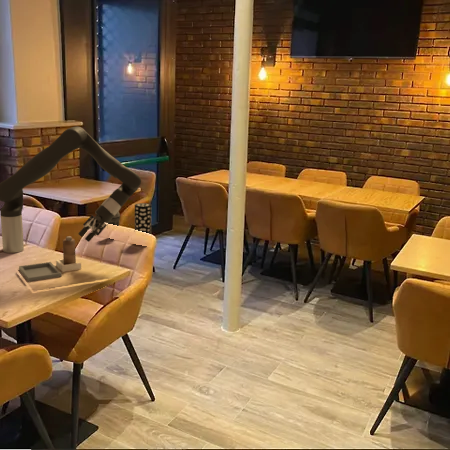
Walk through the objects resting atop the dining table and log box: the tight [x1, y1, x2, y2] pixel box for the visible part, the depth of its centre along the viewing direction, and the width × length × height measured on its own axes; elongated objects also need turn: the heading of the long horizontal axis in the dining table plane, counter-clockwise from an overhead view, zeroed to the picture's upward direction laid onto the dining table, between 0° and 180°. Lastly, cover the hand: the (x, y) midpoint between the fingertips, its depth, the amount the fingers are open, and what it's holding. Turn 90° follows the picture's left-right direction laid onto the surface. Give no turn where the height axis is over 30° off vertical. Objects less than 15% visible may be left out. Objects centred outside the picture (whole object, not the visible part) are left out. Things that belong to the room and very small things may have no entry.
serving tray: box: [18, 261, 63, 283], centre depth 213 cm, size 16×13×2 cm
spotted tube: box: [134, 202, 152, 235], centre depth 262 cm, size 8×8×20 cm
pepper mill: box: [62, 235, 77, 265], centre depth 220 cm, size 5×5×13 cm
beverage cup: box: [107, 211, 121, 227], centre depth 269 cm, size 7×7×20 cm
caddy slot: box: [55, 258, 82, 273], centre depth 221 cm, size 9×8×4 cm
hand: (83, 238), depth 222 cm, fingers open, 8 cm apart
